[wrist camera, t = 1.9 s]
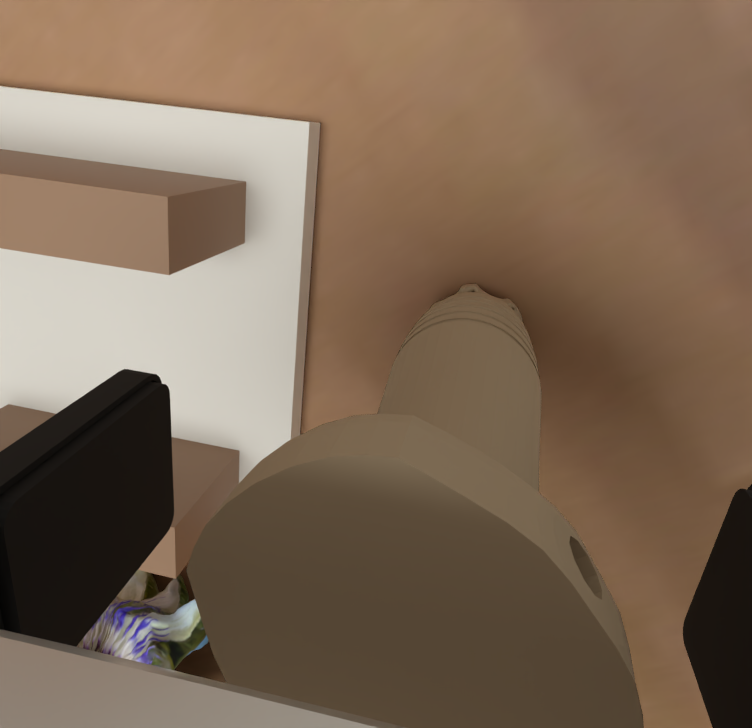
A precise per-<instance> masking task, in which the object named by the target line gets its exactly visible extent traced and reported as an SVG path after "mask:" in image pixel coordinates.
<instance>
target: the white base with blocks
mask: <svg viewBox="0 0 752 728" xmlns="http://www.w3.org/2000/svg"><path fill="white" fill-rule="evenodd" d="M319 138H320V123H317V122H309V121H300V120H292V119H283V118H274V117H266V116H257V115H249V114H240V113H231V112H223V111H214V110H205V109H197V108H188V107H180V106H171V105H162V104H154V103H145V102H136V101H128V100H119V99H111V98H102V97H93V96H85V95H76V94H67V93H59V92H50V91H42V90H33V89H24V88H16V87H7V86H0V452H1V451H2V450H4V449H5V448H7V447H8V446H10V445H11V444H12V443H14V442H15V441H17V440H18V439H20V438H21V437H23V436H24V435H26V434H27V433H29V432H30V431H32V430H33V429H35V428H36V427H38V426H39V425H41V424H42V423H44V422H45V421H47V420H48V419H49V418H51V417H52V416H54V415H55V414H57V413H58V412H60V411H61V410H63V409H64V408H66V407H67V406H69V405H70V404H72V403H73V402H75V401H76V400H78V399H79V398H81V397H82V396H84V395H85V394H86V393H88V392H89V391H91V390H92V389H94V388H95V387H97V386H98V385H100V384H101V383H103V382H104V381H106V380H107V379H109V378H110V377H112V376H113V375H115V374H116V373H118V372H119V371H121V370H123V369H129V370H135V371H140V372H146V373H151V374H157V375H158V376H159V377H160V379H161V382H162V384H166V385H167V386H168V388H169V391H170V409H171V436H172V463H173V490H174V517H173V521H172V525H171V527H170V529H169V531H168V532H167V534H166V535H165V536H164V538H163V539H162V540H161V541H160V543H159V544H158V545H157V546H156V548H155V549H154V550H153V551H152V553H151V554H150V555H149V556H148V558H147V559H146V560H145V561H144V563H143V564H142V565H141V566H140V568H139V569H138V570H141V571H145V572H149V573H153V574H157V575H162V576H166V577H170V578H174V579H176V578H177V577H178V575H179V574H180V573H181V571H182V570H183V569H184V567H185V566H186V565H187V563H188V562H189V560H190V557H191V554H192V551H193V548H194V546H195V544H196V542H197V540H198V538H199V536H200V534H201V532H202V530H203V529H204V527H205V525H206V524H207V523H208V521H209V520H210V519H211V517H212V516H213V515H214V513H215V512H216V511H217V510H218V508H219V507H220V506H221V504H222V503H223V502H224V501H225V499H226V498H227V497H228V496H229V494H230V493H231V492H232V491H233V490H234V488H235V487H236V486H237V485H238V484H239V483H240V482H241V481H242V480H243V479H244V478H245V476H246V475H247V474H248V473H249V472H250V471H251V470H252V469H253V468H254V467H255V466H256V465H257V464H258V463H259V462H260V461H261V460H262V459H264V458H265V457H267V456H268V455H269V454H271V453H272V452H274V451H275V450H276V449H278V448H279V447H281V446H282V445H283V444H285V443H286V442H287V441H289V440H291V439H293V438H295V437H297V436H299V435H300V426H301V411H302V396H303V381H304V366H305V350H306V335H307V320H308V305H309V290H310V274H311V259H312V244H313V229H314V214H315V198H316V183H317V168H318V153H319Z"/></svg>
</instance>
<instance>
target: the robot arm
mask: <svg viewBox="0 0 752 728" xmlns="http://www.w3.org/2000/svg"><path fill="white" fill-rule="evenodd" d="M173 517H174V490H173V463H172V436H171V409H170V391H169V388H168V386H167V385H166V384H162V382H161V379H160V377H159V376H158V375H157V374H151V373H146V372H140V371H135V370H129V369H123V370H121V371H119V372H118V373H116V374H115V375H113V376H112V377H110V378H109V379H107V380H106V381H104V382H103V383H101V384H100V385H98V386H97V387H95V388H94V389H92V390H91V391H89V392H88V393H86V394H85V395H84V396H82V397H81V398H79V399H78V400H76V401H75V402H73V403H72V404H70V405H69V406H67V407H66V408H64V409H63V410H61V411H60V412H58V413H57V414H55V415H54V416H52V417H51V418H49V419H48V420H47V421H45V422H44V423H42V424H41V425H39V426H38V427H36V428H35V429H33V430H32V431H30V432H29V433H27V434H26V435H24V436H23V437H21V438H20V439H18V440H17V441H15V442H14V443H12V444H11V445H10V446H8V447H7V448H5V449H4V450H2V451H1V452H0V728H406V727H402V726H398V725H394V724H390V723H386V722H382V721H378V720H374V719H370V718H366V717H362V716H358V715H354V714H350V713H346V712H342V711H338V710H334V709H330V708H326V707H321V706H317V705H313V704H309V703H305V702H301V701H297V700H293V699H289V698H285V697H281V696H277V695H273V694H269V693H265V692H261V691H257V690H253V689H249V688H244V687H240V686H236V685H232V684H228V683H224V682H220V681H215V680H211V679H207V678H203V677H199V676H195V675H191V674H186V673H182V672H178V671H174V670H170V669H166V668H162V667H158V666H153V665H149V664H145V663H141V662H137V661H133V660H129V659H124V658H120V657H116V656H112V655H108V654H104V653H100V652H95V651H91V650H87V649H83V648H79V647H77V645H78V644H79V643H80V641H81V640H82V639H83V638H84V636H85V635H86V634H87V633H88V631H89V630H90V629H91V628H92V626H93V625H94V624H95V623H96V621H97V620H98V619H99V618H100V616H101V615H102V614H103V613H104V611H105V610H106V609H107V608H108V606H109V605H110V604H111V603H112V601H113V600H114V599H115V598H116V596H117V595H118V594H119V593H120V591H121V590H122V589H123V588H124V586H125V585H126V584H127V583H128V581H129V580H130V579H131V578H132V576H133V575H134V574H135V573H136V571H137V570H138V569H139V568H140V566H141V565H142V564H143V563H144V561H145V560H146V559H147V558H148V556H149V555H150V554H151V553H152V551H153V550H154V549H155V548H156V546H157V545H158V544H159V543H160V541H161V540H162V539H163V538H164V536H165V535H166V534H167V532H168V531H169V529H170V527H171V525H172V521H173ZM683 639H684V644H685V647H686V650H687V653H688V656H689V659H690V662H691V665H692V668H693V671H694V674H695V677H696V680H697V683H698V686H699V689H700V691H701V694H702V697H703V700H704V703H705V706H706V709H707V712H708V715H709V718H710V721H711V724H712V727H713V728H752V484H751V486H750V487H749V488H748V489H747V490H746V489H739V490H738V491H737V492H736V493H735V495H734V497H733V499H732V501H731V504H730V507H729V509H728V512H727V514H726V517H725V519H724V522H723V524H722V527H721V529H720V532H719V534H718V537H717V539H716V542H715V544H714V547H713V549H712V552H711V554H710V557H709V560H708V562H707V565H706V567H705V570H704V572H703V575H702V577H701V580H700V582H699V585H698V587H697V590H696V592H695V595H694V597H693V600H692V602H691V605H690V607H689V610H688V612H687V615H686V618H685V621H684V626H683Z"/></svg>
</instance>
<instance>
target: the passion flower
mask: <svg viewBox="0 0 752 728" xmlns="http://www.w3.org/2000/svg"><path fill="white" fill-rule="evenodd" d="M206 644H208V638H207V635H206V632H205V629H204V626H203V623H202V620H201V617H200V614H199V610H198V607H197V604H196V601H195V599H194V600H192V601H190V602H189V595H188V592H187V589H186V586H185V584H184V580H183V577H182V576H180V575H178V577H177V578H176V579H173V580H172V581H171V582H169V584H168V585H167V587H166V589H165V590H163V591H162V592H159V590H158V588H157V584H156V581H155V579H154V577H153V575H152V574H151V573H149V572H145V571H141V570H137V571H136V573H135V574H134V575H133V576H132V578H131V579H130V580H129V581H128V583H127V584H126V585H125V586H124V588H123V589H122V590H121V591H120V593H119V594H118V595H117V596H116V598H115V599H114V600H113V601H112V603H111V604H110V605H109V606H108V608H107V609H106V610H105V611H104V613H103V614H102V615H101V616H100V618H99V619H98V620H97V621H96V623H95V624H94V625H93V626H92V628H91V629H90V630H89V631H88V633H87V634H86V635H85V636H84V638H83V639H82V640H81V641H80V643H79V644H78V645H77V647H79V648H83V649H87V650H91V651H95V652H100V653H104V654H108V655H112V656H116V657H120V658H124V659H129V660H133V661H137V662H141V663H145V664H149V665H153V666H158V667H162V668H166V669H170V670H175V668H176V667H177V666H178V665H179V664H180V662H181V661H182V660H183V659H184V658H185V657H186V656H188V655H189V654H190V653H191V652H193V651H194V650H198V649H201V648H202V647H203V646H204V645H206Z"/></svg>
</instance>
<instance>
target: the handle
mask: <svg viewBox="0 0 752 728" xmlns="http://www.w3.org/2000/svg"><path fill="white" fill-rule="evenodd" d="M522 322H523V320H522V316H521V314H520V312H519V310H518V308H517V306H516V305H515V304H514V303H513V302H512V301H511V300H510V299H508V298H506V299H501V298H497V297H494V296H491V295H489V294H488V293H486V292H484V291H483V290H482V289H481V288H479V286H478V285H477V284H466V285H463V286H462V287H461V288H460V289H459V291H458V292H457V293H456V294H455V295H452V296H449V297H448V298H446V299H444V300H442V301H438V302H436V303H434V304H433V305H432V306H431V307H430V309H429V310H428V311H427V312H426V313H425V314H424V315H423V316H422V317H421V318H420V319H419V321H418V322H417V323H416V324H415V326H414V327H413V328H412V330H411V331H410V333H409V334H408V336H407V337H406V339H405V340H404V342H403V344H402V346H401V348H400V350H399V352H398V355H397V357H396V359H395V361H394V363H393V365H392V368H391V371H390V375H389V378H388V381H387V384H386V388H385V391H384V394H383V397H382V401H381V404H380V407H379V410H378V414H369V415H354V416H351V417H347V418H344V419H340V420H336V421H333V422H329V423H326V424H322V425H320V426H318V427H316V428H314V429H312V430H310V431H308V432H306V433H303V434H301V435H299V436H297V437H295V438H293V439H291V440H289V441H287V442H286V443H285V444H283V445H282V446H281V447H279V448H278V449H276V450H275V451H274V452H272V453H271V454H269V455H268V456H267V457H265V458H264V459H262V460H261V461H260V462H259V463H258V464H257V465H256V466H255V467H254V468H253V469H252V470H251V471H250V472H249V473H248V474H247V475H246V476H245V478H244V479H243V480H242V481H241V482H240V483H239V484H238V485H237V486H236V487H235V488H234V490H233V491H232V492H231V493H230V494H229V496H228V497H227V498H226V499H225V501H224V502H223V503H222V504H221V506H220V507H219V508H218V510H217V511H216V512H215V513H214V515H213V516H212V517H211V519H210V520H209V521H208V523H207V524H206V525H205V527H204V529H203V530H202V532H201V534H200V536H199V538H198V540H197V542H196V544H195V546H194V548H193V551H192V554H191V557H190V560H189V563H188V567H187V570H186V571H187V575H188V578H189V581H190V584H191V588H192V591H193V594H194V597H195V601H196V604H197V607H198V610H199V614H200V617H201V620H202V623H203V626H204V629H205V632H206V635H207V638H208V641H209V644H210V647H211V649H212V652H213V655H214V657H215V660H216V662H217V664H218V666H219V668H220V670H221V672H222V674H223V677H224V679H225V681H226V683H228V684H232V685H236V686H240V687H244V688H249V689H253V690H257V691H261V692H265V693H269V694H273V695H277V696H281V697H285V698H289V699H293V700H297V701H301V702H305V703H309V704H313V705H317V706H321V707H326V708H330V709H334V710H338V711H342V712H346V713H350V714H354V715H358V716H362V717H366V718H370V719H374V720H378V721H382V722H386V723H390V724H394V725H398V726H402V727H406V728H644V726H643V714H642V709H641V705H640V701H639V696H638V692H637V688H636V683H635V678H634V672H633V666H632V660H631V654H630V649H629V645H628V641H627V637H626V633H625V630H624V626H623V622H622V618H621V615H620V612H619V610H618V608H617V606H616V604H615V602H614V600H613V598H612V596H611V594H610V592H609V590H608V588H607V586H606V584H605V582H604V580H603V578H602V576H601V575H600V573H599V571H598V569H597V568H596V566H595V564H594V562H593V560H592V558H591V557H590V555H589V553H588V551H587V549H586V548H585V546H584V544H583V542H582V540H581V538H580V537H579V535H578V533H577V531H576V530H575V529H574V528H573V527H572V526H571V524H570V523H569V522H568V521H567V520H566V519H565V517H564V516H563V515H562V514H561V513H560V512H559V510H558V509H557V508H556V507H555V506H554V505H553V504H552V503H550V502H549V501H548V500H547V499H546V498H545V497H543V496H542V495H541V494H540V493H539V454H540V426H541V385H540V378H539V371H538V365H537V360H536V356H535V353H534V349H533V346H532V343H531V340H530V337H529V335H528V332H527V330H526V328H525V326H524V324H523V323H522Z"/></svg>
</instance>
